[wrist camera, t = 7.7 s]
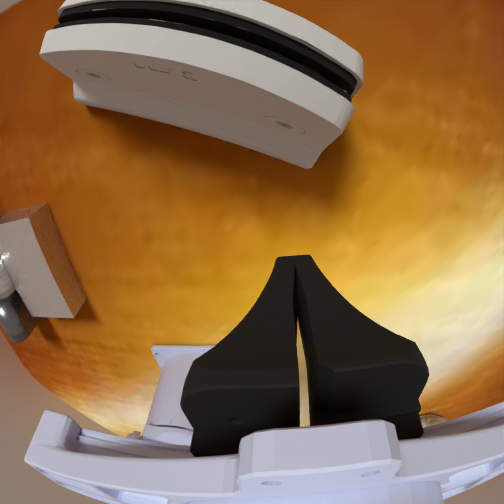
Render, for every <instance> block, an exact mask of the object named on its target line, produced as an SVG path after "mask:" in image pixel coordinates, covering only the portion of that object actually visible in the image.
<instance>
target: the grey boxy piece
mask: <svg viewBox="0 0 504 504" xmlns="http://www.w3.org/2000/svg"><path fill="white" fill-rule="evenodd" d="M15 290H17V291H18V293H19V294H20V296H21V298H22V300H23V302H24V304H25V305H26V307H27V309H28V311H29V312H30V314H31V316H34V317H56V318H75V316H76V315H77V313H78V311H79V310H80V308H81V307H82V305H83V303H84V302H85V300H86V299H87V297H86V295H85V293H84V291H83V289H82V287H81V285H80V282H79V280H78V278H77V276H76V273H75V271H74V269H73V267H72V264H71V262H70V260H69V257H68V255H67V252H66V250H65V247H64V245H63V242H62V240H61V237H60V235H59V232H58V230H57V227H56V224H55V221H54V219H53V216H52V213H51V210H50V207H49V204H48V202H47V203H42V204H38V205H34V206H30V207H26V208H22V209H18V210H15V211H11V212H7V213H6V214H5V215H3V216H2V217H1V218H0V299H4V298H6V297H8V296H9V295H11V294H12V293H13V292H14V291H15Z"/></svg>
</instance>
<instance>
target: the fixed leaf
mask: <svg viewBox="0 0 504 504" xmlns="http://www.w3.org/2000/svg"><path fill="white" fill-rule="evenodd" d="M40 319H41V317H34V316H31V314H30V312H29V311H28V309H27V307H26V305H25V304H24V302H23V300H22V298H21V296H20V294H19V293H18V291H17V290H15V291H14V292H13V293H12V294H11V295H9V296H8V297H6V298H4V299H0V324H1V326H2V327H3V329H4V330H5V332H6V333H7V335H8V336H9V338H10V339H11V341H12V342H13V343H20V342H22V341H24V340H25V339H26V338H27V337H28V336H29V335H30V334H31V332H32V331H33V329H34V328H35V326H36V325H37V323H38V322H39V320H40Z"/></svg>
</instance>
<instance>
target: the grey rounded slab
mask: <svg viewBox="0 0 504 504" xmlns="http://www.w3.org/2000/svg"><path fill="white" fill-rule="evenodd" d="M58 15H59V16H60V17H59V19H58V21H59V23H60V24H57V25H56V26H54V28H53V30H49V31H47V32H46V34H45V37H44V40H43V44H42V47H41V51H40V54H39V56H40V57H41V58H42V59H43V60H45V61H46V62H48V63H49V64H51V65H52V66H53V67H55V68H56V69H58V70H59V71H60V72H62V73H63V74H65V75H66V76H67V77H69V78H70V79H72V80H73V88H74V99H75V100H76V101H78V102H80V103H82V104H84V105H88V106H93V107H98V108H103V109H108V110H112V111H117V112H121V113H125V114H130V115H134V116H138V117H142V118H146V119H150V120H154V121H158V122H162V123H166V124H169V125H173V126H177V127H180V128H184V129H188V130H191V131H194V132H198V133H201V134H205V135H208V136H211V137H215V138H218V139H221V140H224V141H227V142H230V143H234V144H237V145H240V146H243V147H246V148H249V149H252V150H255V151H258V152H260V153H263V154H266V155H269V156H272V157H275V158H277V159H280V160H283V161H286V162H288V163H291V164H294V165H296V166H299V167H302V168H304V169H309V168H312V167H313V165H314V164H315V162H316V161H317V159H318V158H319V156H320V154H321V153H322V151H323V150H324V149H325V148H326V147H327V146H328V145H330V144H331V143H332V142H333V141H334V140H335V139H336V138H337V137H339V136H340V135H341V134H342V133H343V131H344V130H345V128H346V126H347V124H348V122H349V121H350V119H351V117H352V115H353V113H354V112H355V108H354V106H353V105H352V104H351V99H352V97H353V96H354V95H355V94H356V93H357V91H358V90H359V89H360V88H361V87H362V85H363V58H362V57H361V55H360V54H359V53H358V52H357V51H355V50H354V49H353V48H351V47H350V46H348V45H347V44H346V43H344V42H343V41H341V40H340V39H338V38H337V37H335V36H334V35H332V34H330V33H329V32H327V31H325V30H324V29H322V28H320V27H319V26H317V25H315V24H313V23H312V22H310V21H308V20H306V19H304V18H302V17H300V16H298V15H295V14H293V13H291V12H289V11H287V10H284V9H282V8H280V7H277V6H275V5H272V4H270V3H267V2H265V1H262V0H66V1H65V2H64V4H63V5H62V6H61V7H60V8H59V9H58Z"/></svg>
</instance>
